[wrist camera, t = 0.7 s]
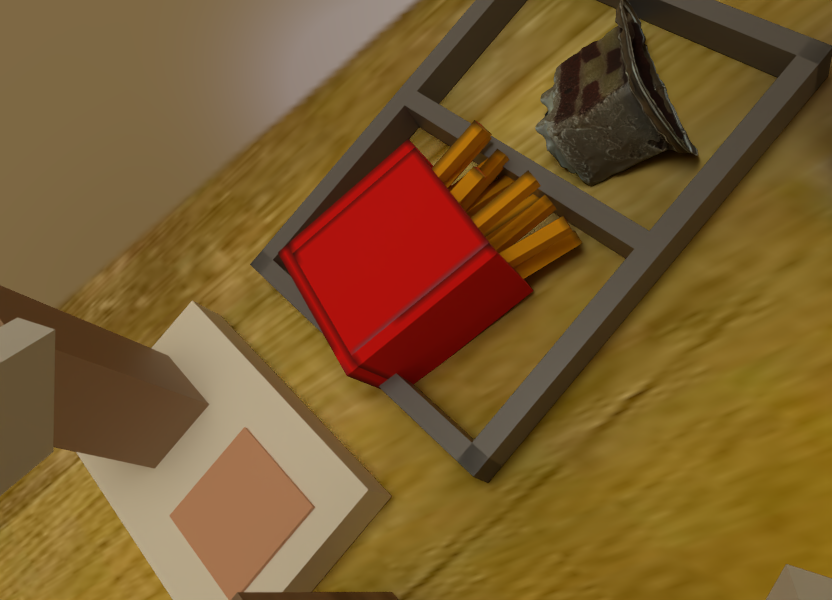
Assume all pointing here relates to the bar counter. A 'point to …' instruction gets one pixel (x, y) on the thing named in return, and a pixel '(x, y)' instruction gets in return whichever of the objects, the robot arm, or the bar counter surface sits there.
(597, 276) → the bar counter surface
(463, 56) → the charcoal tray rim
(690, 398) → the bar counter surface
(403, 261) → the french fries container
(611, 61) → the chocolate cake
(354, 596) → the walnut pillar
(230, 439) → the base board
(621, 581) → the bar counter surface
